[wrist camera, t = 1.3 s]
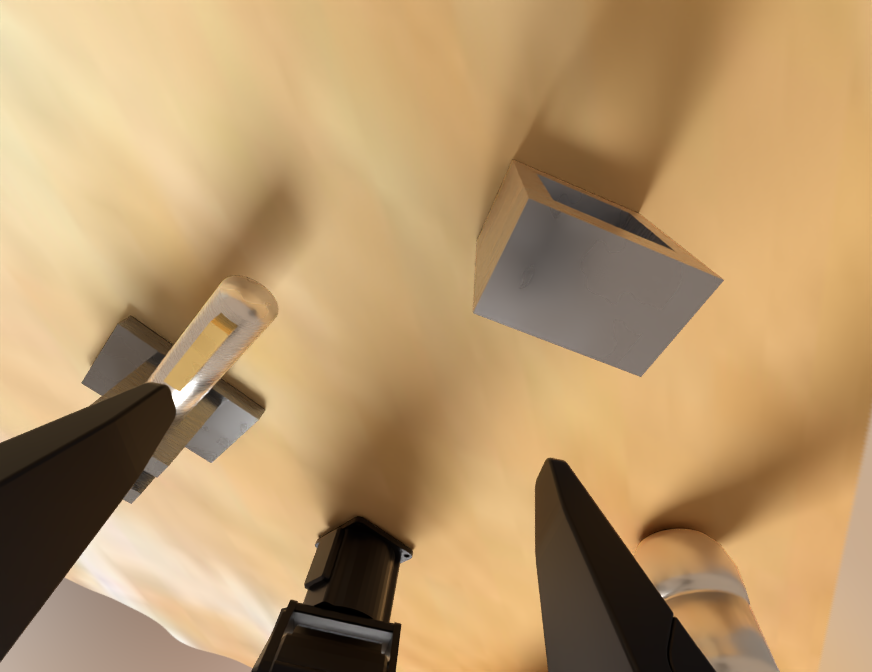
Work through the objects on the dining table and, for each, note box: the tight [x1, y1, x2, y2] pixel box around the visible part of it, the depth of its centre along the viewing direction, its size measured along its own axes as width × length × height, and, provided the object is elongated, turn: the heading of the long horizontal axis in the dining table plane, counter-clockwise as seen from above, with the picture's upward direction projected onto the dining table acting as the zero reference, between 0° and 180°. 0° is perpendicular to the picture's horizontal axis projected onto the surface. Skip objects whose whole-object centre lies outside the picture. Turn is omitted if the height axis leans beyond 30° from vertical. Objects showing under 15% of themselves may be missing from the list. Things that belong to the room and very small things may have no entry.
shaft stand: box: [82, 276, 278, 504], centre depth 23 cm, size 10×17×6 cm, turn 135°
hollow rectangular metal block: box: [473, 159, 724, 377], centre depth 16 cm, size 6×4×8 cm, turn 70°
